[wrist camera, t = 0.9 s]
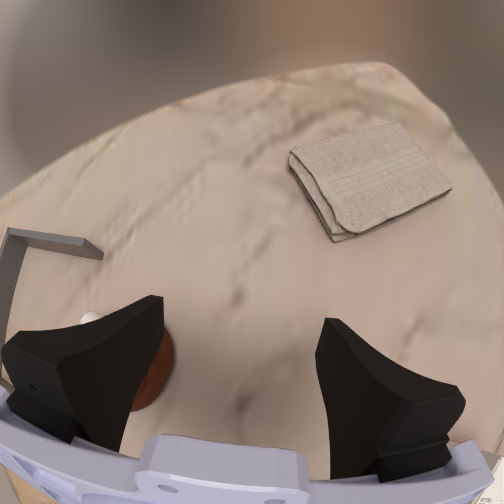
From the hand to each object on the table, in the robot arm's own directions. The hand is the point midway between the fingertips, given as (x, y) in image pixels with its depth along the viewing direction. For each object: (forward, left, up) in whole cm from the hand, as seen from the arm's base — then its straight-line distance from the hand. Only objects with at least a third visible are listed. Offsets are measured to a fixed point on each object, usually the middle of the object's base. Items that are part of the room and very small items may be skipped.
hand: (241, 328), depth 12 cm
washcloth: (+19, -11, -13) cm, 26 cm away
